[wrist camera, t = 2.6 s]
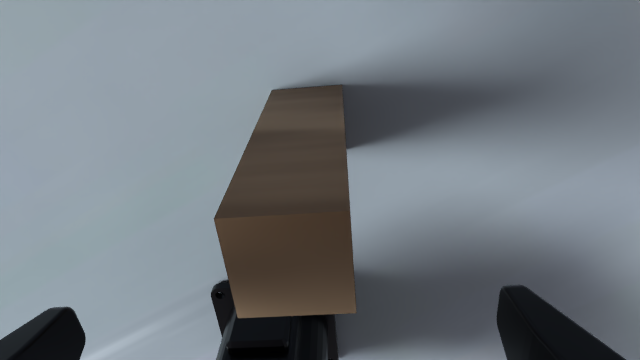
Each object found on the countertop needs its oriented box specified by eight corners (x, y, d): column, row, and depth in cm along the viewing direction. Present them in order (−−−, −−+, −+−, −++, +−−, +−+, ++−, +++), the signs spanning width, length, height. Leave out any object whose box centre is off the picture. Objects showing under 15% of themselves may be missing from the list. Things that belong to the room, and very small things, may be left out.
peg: (346, 149, 20) (356, 313, 11) (281, 154, 20) (237, 318, 11) (342, 84, 18) (350, 211, 9) (271, 90, 18) (214, 218, 9)
